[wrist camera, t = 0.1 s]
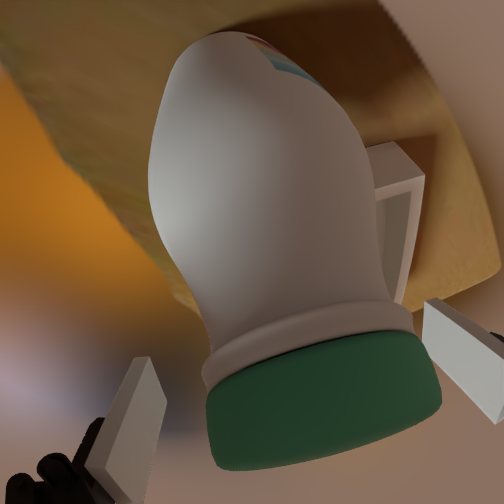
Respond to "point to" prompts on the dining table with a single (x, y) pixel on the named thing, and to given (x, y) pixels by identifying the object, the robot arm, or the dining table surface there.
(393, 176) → the white shallow box
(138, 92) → the dining table surface
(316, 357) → the milk bottle
